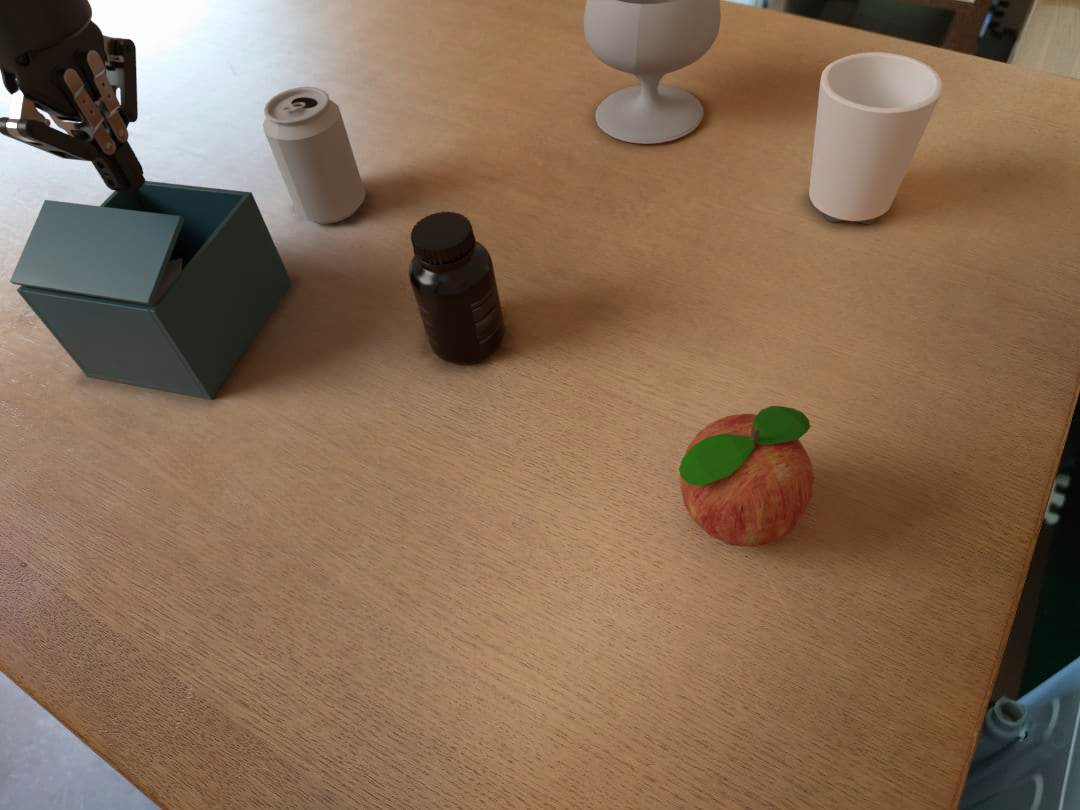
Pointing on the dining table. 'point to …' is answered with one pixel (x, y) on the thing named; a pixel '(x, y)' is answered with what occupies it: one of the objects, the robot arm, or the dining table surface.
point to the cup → (868, 132)
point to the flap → (98, 251)
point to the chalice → (650, 62)
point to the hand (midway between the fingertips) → (131, 187)
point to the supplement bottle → (455, 289)
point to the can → (313, 154)
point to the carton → (178, 297)
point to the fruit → (749, 476)
